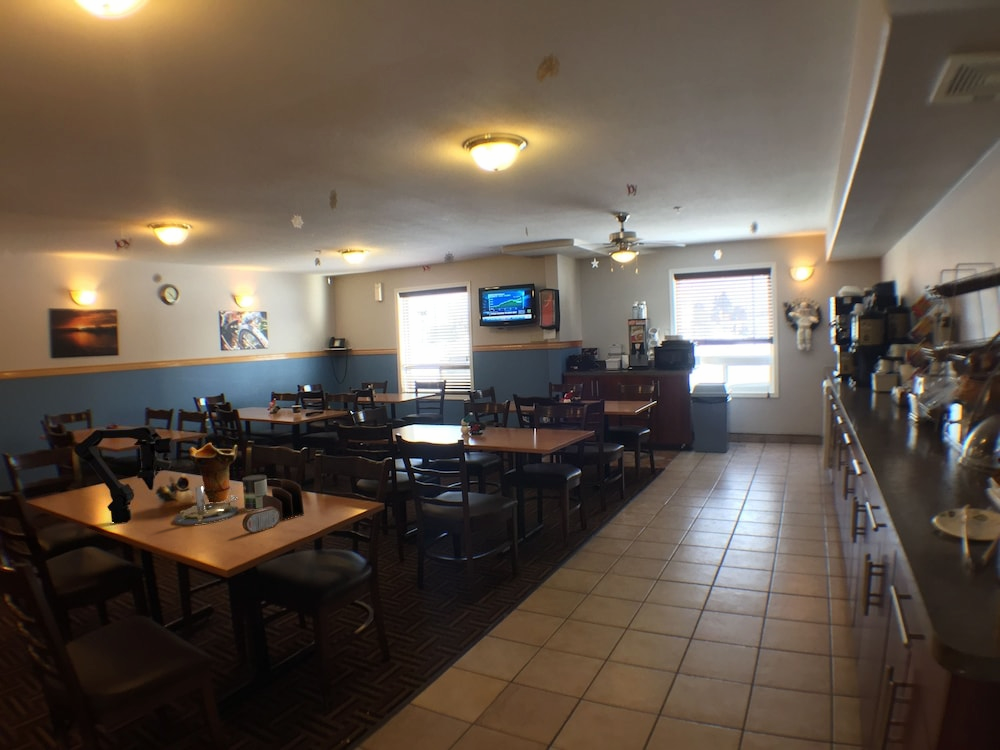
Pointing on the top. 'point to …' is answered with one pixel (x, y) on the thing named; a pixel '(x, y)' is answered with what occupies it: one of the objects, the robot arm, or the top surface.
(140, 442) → the robot arm
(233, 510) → the base plate
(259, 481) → the coffee can
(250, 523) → the tin
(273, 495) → the letter holder
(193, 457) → the decorative vase
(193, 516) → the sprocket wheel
